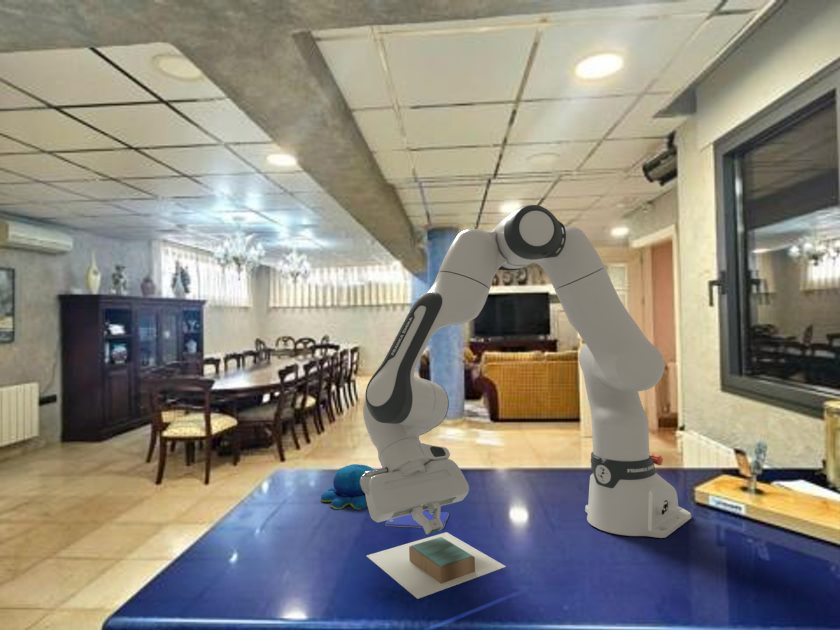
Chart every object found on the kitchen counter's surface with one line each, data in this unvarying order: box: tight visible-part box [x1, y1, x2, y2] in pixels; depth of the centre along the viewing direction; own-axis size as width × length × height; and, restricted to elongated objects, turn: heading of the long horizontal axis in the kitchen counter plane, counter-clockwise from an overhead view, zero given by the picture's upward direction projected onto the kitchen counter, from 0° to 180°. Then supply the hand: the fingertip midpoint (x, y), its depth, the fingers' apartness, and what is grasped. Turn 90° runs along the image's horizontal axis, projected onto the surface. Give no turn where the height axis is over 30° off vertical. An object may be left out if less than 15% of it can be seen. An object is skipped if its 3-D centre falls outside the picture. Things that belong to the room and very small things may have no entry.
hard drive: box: [385, 510, 450, 530], centre depth 111 cm, size 2×8×12 cm
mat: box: [366, 531, 507, 600], centre depth 92 cm, size 18×18×1 cm
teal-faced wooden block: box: [409, 537, 475, 584], centre depth 90 cm, size 7×3×10 cm
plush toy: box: [320, 463, 375, 510], centre depth 128 cm, size 17×17×8 cm
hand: (435, 531), depth 91 cm, fingers closed
